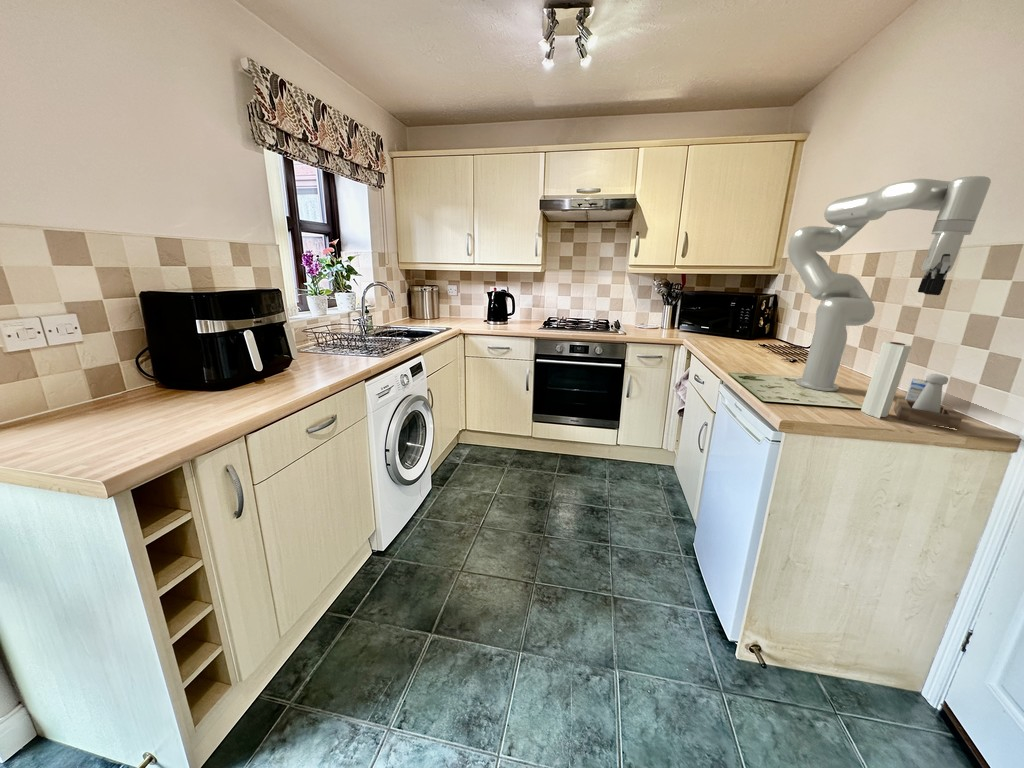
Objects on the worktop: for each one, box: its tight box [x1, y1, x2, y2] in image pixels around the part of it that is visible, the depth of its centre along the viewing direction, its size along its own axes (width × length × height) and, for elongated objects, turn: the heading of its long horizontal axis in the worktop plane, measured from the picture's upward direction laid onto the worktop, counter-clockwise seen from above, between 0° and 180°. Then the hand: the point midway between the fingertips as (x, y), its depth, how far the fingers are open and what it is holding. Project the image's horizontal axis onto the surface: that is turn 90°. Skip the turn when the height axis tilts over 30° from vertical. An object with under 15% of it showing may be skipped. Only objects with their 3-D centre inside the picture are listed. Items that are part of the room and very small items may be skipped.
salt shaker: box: [912, 373, 949, 413], centre depth 116 cm, size 6×6×13 cm
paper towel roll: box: [860, 341, 912, 420], centre depth 117 cm, size 7×6×21 cm
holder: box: [893, 397, 963, 430], centre depth 118 cm, size 12×12×4 cm
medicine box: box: [904, 378, 928, 401], centre depth 127 cm, size 8×4×9 cm, turn 134°
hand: (928, 293), depth 114 cm, fingers open, 9 cm apart
